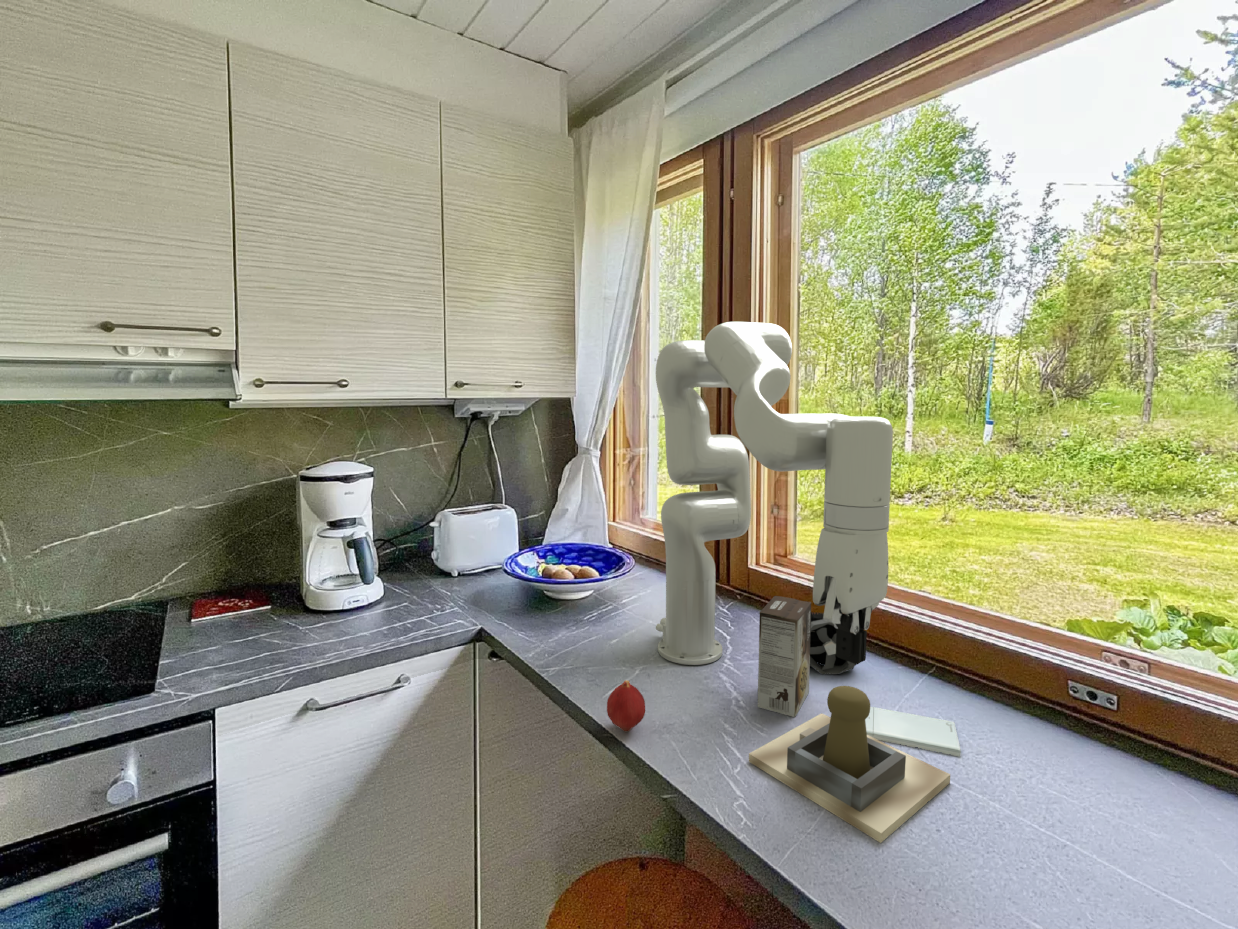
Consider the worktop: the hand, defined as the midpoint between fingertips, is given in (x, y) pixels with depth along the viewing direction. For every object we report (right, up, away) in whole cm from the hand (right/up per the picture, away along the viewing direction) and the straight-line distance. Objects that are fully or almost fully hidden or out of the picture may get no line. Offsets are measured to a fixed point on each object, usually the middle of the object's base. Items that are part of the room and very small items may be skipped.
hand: (850, 658), depth 76 cm
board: (+1, -16, +4) cm, 17 cm away
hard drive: (+14, -16, +14) cm, 25 cm away
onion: (-28, -16, +14) cm, 35 cm away
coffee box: (-2, -15, +23) cm, 27 cm away
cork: (0, -16, +2) cm, 16 cm away
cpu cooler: (+9, -13, +34) cm, 38 cm away
